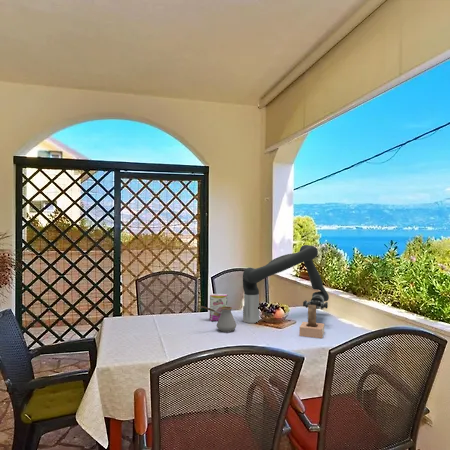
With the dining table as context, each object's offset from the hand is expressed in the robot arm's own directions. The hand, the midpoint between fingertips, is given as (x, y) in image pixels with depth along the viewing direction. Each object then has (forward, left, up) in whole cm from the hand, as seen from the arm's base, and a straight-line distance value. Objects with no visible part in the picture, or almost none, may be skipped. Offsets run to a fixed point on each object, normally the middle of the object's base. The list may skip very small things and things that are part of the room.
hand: (314, 306), depth 218 cm
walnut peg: (0, -12, -12) cm, 16 cm away
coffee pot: (-50, -24, -13) cm, 57 cm away
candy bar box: (-58, -3, -13) cm, 60 cm away
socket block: (+1, -12, -13) cm, 17 cm away
